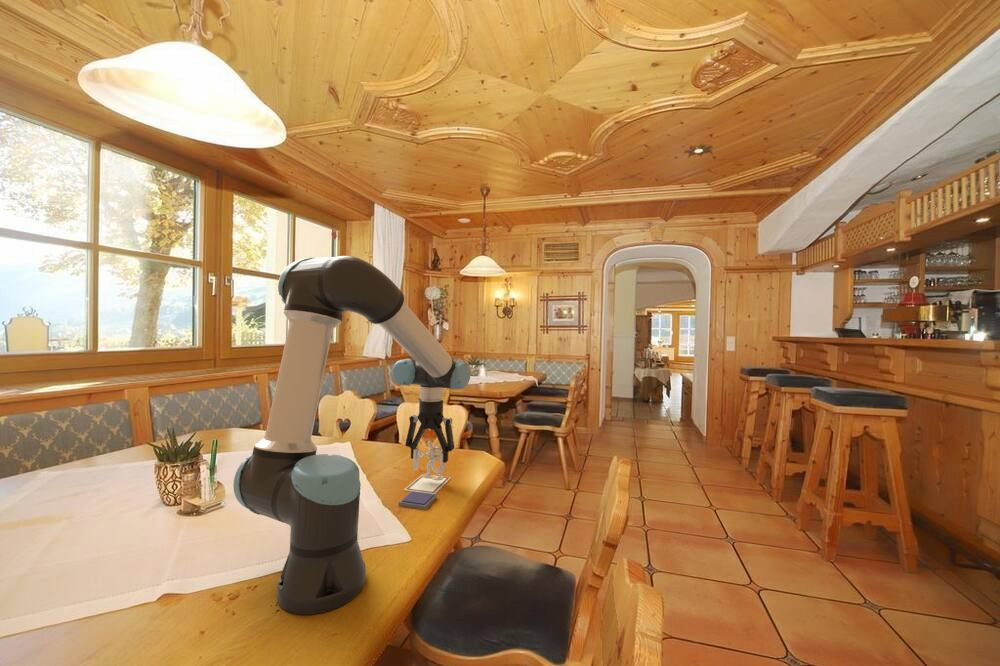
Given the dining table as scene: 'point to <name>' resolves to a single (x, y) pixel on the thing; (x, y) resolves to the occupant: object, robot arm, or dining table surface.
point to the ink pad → (417, 500)
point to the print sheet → (427, 485)
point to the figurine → (431, 461)
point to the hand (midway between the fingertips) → (428, 470)
